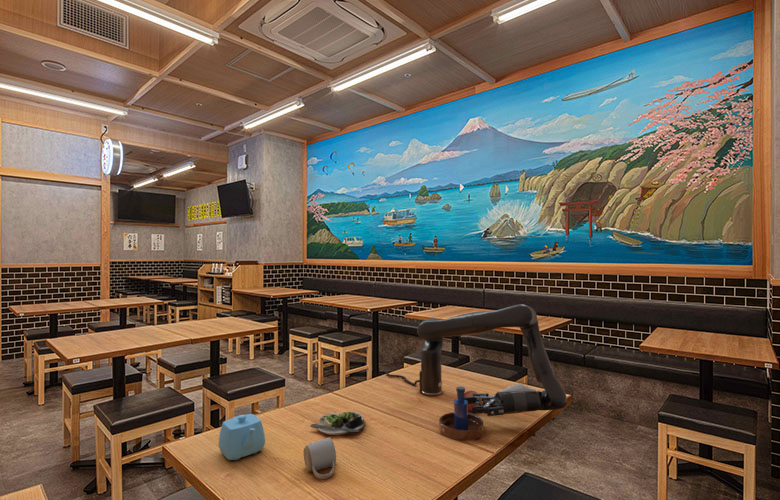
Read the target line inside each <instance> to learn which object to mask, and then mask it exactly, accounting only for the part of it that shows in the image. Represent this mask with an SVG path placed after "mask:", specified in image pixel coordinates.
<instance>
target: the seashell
mask: <svg viewBox="0 0 780 500" xmlns="http://www.w3.org/2000/svg"><path fill="white" fill-rule="evenodd" d="M506 391H537V389H535V388H531V387H529V386H526V385H524V384H523V383H515V384H512V385H510V386H507V387H505V388H502V389H501V390H499V391H498V392H506ZM495 394H496V393H494V394H492V395H491V397H494V396H495Z"/></svg>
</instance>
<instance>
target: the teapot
mask: <svg viewBox="0 0 780 500" xmlns="http://www.w3.org/2000/svg"><path fill="white" fill-rule="evenodd" d="M265 435H266V434H265V430H264V426H263V422H262V420H261V419H260V418H259V417H258V416H257V415H255V414H253V413H247V414H240V415H236V416H233V417H232V418H229V419H227V420H224V421H222V424H221V427H220V431H219V437H218V447H219V450H220V452H221V454H222V455H223V456H224V457H225V458H226V459H227V460H229V461H238V460H240V459H241V458H244V457H248V456H250V455H255V454H257V453H258V452H260V451H261V450H263V449H264V447H265V444H266V436H265Z"/></svg>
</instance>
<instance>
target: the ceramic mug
mask: <svg viewBox="0 0 780 500" xmlns="http://www.w3.org/2000/svg"><path fill="white" fill-rule="evenodd" d="M303 461H304V466H305V468H306V470H307V471H308V472H313V474H314V476H315V477H316V478H317V479H320V480H326V479H329V478H330V477H332V475H333V474H334V471H335V466H336V464H337V452H336V447H335V444H334V441H333V439H332V438H331V436H329V437H326V438H322V439H320V440H316V441H314V442H311V443H309V444H307V445H305V446H304V447H303ZM331 467H332V468H331ZM329 468H331V469H330V471H329V472H328V473H326V474H321V473H318V471H319V470H324V469H329Z"/></svg>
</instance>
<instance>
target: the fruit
mask: <svg viewBox="0 0 780 500" xmlns="http://www.w3.org/2000/svg"><path fill="white" fill-rule="evenodd" d="M464 394H465V397H473V394H479V393H478V392H477V391H476V390H475V391H474V390H467V391H465V392H464ZM474 406H480V405H479V404H468V412H469V413H472V407H474Z"/></svg>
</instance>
